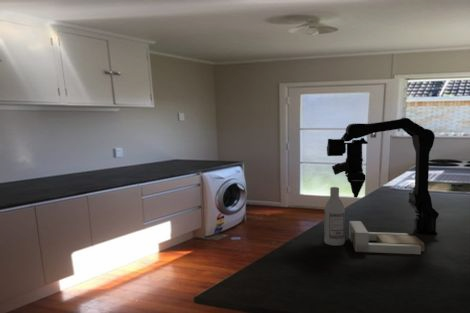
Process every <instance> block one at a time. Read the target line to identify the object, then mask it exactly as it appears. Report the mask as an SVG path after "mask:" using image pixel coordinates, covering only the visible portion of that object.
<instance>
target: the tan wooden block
mask: <svg viewBox="0 0 470 313" xmlns="http://www.w3.org/2000/svg"><path fill="white" fill-rule="evenodd" d="M376 243H387V244H415V245H420V246H421V252H425V242H423V241H422V240H421V239H420V238H419V237H418V236H416V235H409V236H400V235H377V241H376Z"/></svg>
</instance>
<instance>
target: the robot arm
mask: <svg viewBox="0 0 470 313" xmlns="http://www.w3.org/2000/svg"><path fill="white" fill-rule="evenodd" d="M394 130H403V131H404V132H405V133H406V134H407V135H409V136H410V137H411V139H412V144H413V148H414V151H415V165H414V166H415V168H414V169H415V171H414V173H415V174H414V188H413V191H412V192H408V200H407V201H408V202H407V203H409V206H410V208H411V209H413V210H414V213H416V215H415V218H413V219H414V220H413V221H414V223H413V229H414V230H415V231H416V232H417V233H418V234H424V235H438V232H437V219H438V217H439V214H440V213H439V212H438V211H437V210H436V209H434V207H433V202H432V197H431V195H430V191H429V177H430V176H429V170H430V169H429V168H430V153H431V150H432V148H433V146H434V142H435V137H436V135H435V132H434V131H433V130H431V129H429V128H424V127H423V126H421V125H420V124H418V123H416V122H414V121H413V120H412V119H411V118H409V117H401V118H398V119H392V120H386V121H380V122H373V123H349V124H347V126H346V128H345V133H344V134H343V135H342V137H341V138H337V139H335V138H328V139H327V144H326V155H327V157H343V156H344V155H345V154H346V158H345V161H344V162H339V163H335V164H334V165H332V166H331V170H332V172H333V174H334V175H335V176H336V175H339V174H340V173H343V172H344V175H345V177H346V179H347V182H348V183H349V184H350V189H351V193H352V195H353V198H358V197H359V195H360V192H361V190H362V187H363V186H364V184H365V183H366V182H365V181H366V173H364V169H363V162H364V158H363V145H367V144H369V143H368V141H367V140H366V139H365V138H364V137H366V136H368V135H371V134H374V133H375V134H376V133H380V132H386V131H387V132H389V131H394Z"/></svg>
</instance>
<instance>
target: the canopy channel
mask: <svg viewBox="0 0 470 313" xmlns="http://www.w3.org/2000/svg"><path fill="white" fill-rule="evenodd" d="M348 226H349V227H348V230H349V232H348V235H349V241H350V242H351V243H353V244H352V246H353V249H354V251H355V252H357V253H377V254H379V253H382V254H405V255H421V253H422V251H421V246H420V245H415V244H387V243H377V235H400V236H410V234H408V233H406V232H381V231H380V232H375V231H374V232H372V231H368V230H367V228H366V226H365V225H364V224H363V222H362V221H361V220H349V224H348ZM370 241H371V242H370ZM372 241H373V242H372ZM374 241H375V242H374Z"/></svg>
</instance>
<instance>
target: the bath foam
mask: <svg viewBox="0 0 470 313" xmlns="http://www.w3.org/2000/svg"><path fill="white" fill-rule="evenodd" d="M329 190H330V192H329V194H330V197H329V199H328V201H327V202H326V203H325V206H324V213H323V214H324V217H323V220H324V222H323V224H324V225H323V226H324V227H323V228H324V230H323V231H324V233H323V235H324V237H323V238H324V239H323V240H324V244H326V245H328V246H333V247H334V246H335V247H337V246H338V247H339V246H343V245H344V244H345V240H346V239H345V236H346V232H345V231H346V228H345V226H346V220H345V219H346V218H345V217H346V213H345V212H346V211H345V209H346V208H345V206H344V204H343V202H342V200H341V199H340V188H339V187H338V186H331V187H330V189H329Z"/></svg>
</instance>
